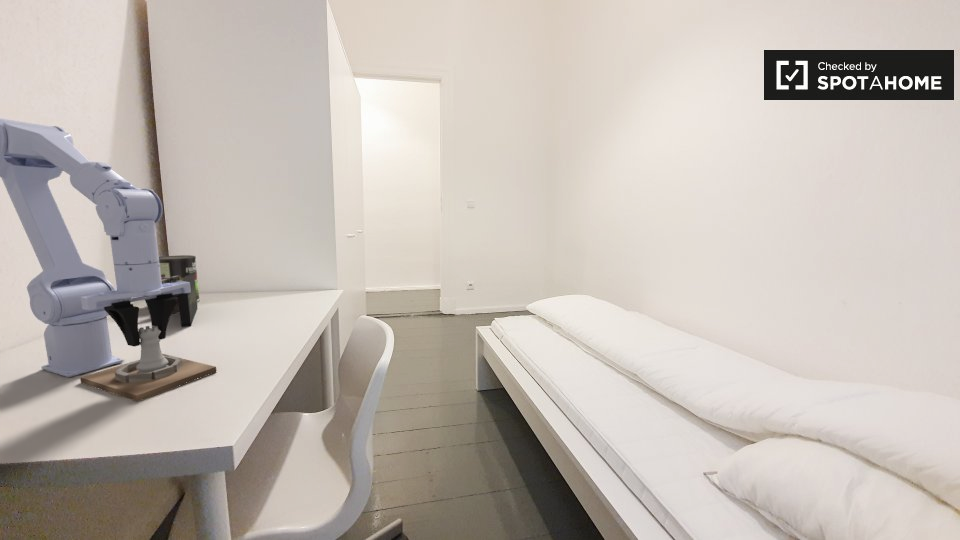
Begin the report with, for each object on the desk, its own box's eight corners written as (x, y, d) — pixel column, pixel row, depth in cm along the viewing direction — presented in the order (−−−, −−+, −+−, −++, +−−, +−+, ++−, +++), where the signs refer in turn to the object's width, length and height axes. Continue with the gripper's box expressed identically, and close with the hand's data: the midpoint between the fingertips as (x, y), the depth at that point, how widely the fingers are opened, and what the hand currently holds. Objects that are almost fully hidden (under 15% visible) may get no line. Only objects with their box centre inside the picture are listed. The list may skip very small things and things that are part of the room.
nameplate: (190, 326, 97) (186, 287, 96) (181, 327, 96) (177, 287, 95) (197, 308, 115) (194, 274, 113) (189, 309, 114) (186, 275, 112)
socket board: (80, 382, 66) (79, 370, 65) (161, 358, 76) (160, 347, 76) (137, 401, 59) (135, 388, 59) (216, 372, 70) (215, 360, 70)
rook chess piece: (151, 379, 65) (145, 332, 64) (129, 376, 66) (123, 330, 64) (176, 368, 69) (171, 324, 68) (155, 366, 70) (150, 323, 69)
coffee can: (205, 297, 128) (200, 254, 125) (192, 305, 118) (187, 258, 116) (167, 299, 125) (162, 255, 123) (151, 307, 115) (145, 259, 113)
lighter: (167, 316, 106) (163, 279, 104) (155, 316, 106) (151, 279, 104) (190, 308, 114) (186, 274, 112) (178, 308, 114) (174, 274, 112)
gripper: (94, 270, 57) (106, 359, 59) (198, 259, 70) (205, 332, 72) (68, 267, 59) (81, 352, 61) (173, 257, 73) (181, 327, 75)
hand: (146, 341), depth 67 cm, fingers closed on rook chess piece, 3 cm apart
